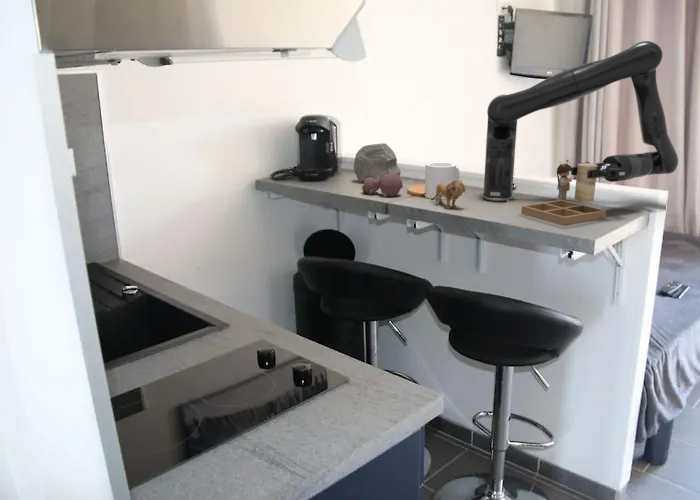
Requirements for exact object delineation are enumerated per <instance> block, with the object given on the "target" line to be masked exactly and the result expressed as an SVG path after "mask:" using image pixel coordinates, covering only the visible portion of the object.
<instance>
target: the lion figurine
mask: <svg viewBox="0 0 700 500" xmlns="http://www.w3.org/2000/svg"><path fill="white" fill-rule="evenodd" d="M467 190H468V187H467V186H466V185H465V184H464V182H463V180H462V179H460V180H456V181H453V182H452V183H449V184H448V186H446V185H445V184H444V183H440V184H438V185H437V188H436V195H435V197H434V198H432V199H431V198H430V200H431V201H434V200H435V202H434V203H435V205H436V206H437V205H440V203H443V199H441V198H442V196H444V197H445V198H446V199H445V200H446V209H447V210H450V209H451V208H454V209H455V208H457V204H455V203H456V201H457V200H458V199H459V197H461V196H462V195H463V193H466V191H467ZM440 192H441V194H440ZM439 194H440V195H439ZM438 197H439V199H438ZM435 198H436V199H435ZM450 203H451V204H450Z"/></svg>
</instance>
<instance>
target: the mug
mask: <svg viewBox="0 0 700 500" xmlns="http://www.w3.org/2000/svg"><path fill="white" fill-rule="evenodd" d="M424 166H425V167H424V168H425V169H424V197H425V198H427V199H430V200H431V199H432V198H434V197H435V195H436V188H437V185H438V184H440V183H444V184H445V185H446V186H448V184H449V183H452V182H453V181H456V180H461V178H460V177H461V175H460V174H461V173H460V170H459V168H458V167H457V164H456V163H453V162H445V161H444V162H443V161H436V162H435V161H432V162H428V163H427V162H426V163H425V165H424ZM425 193H426V194H425ZM440 194H441V192H440ZM440 194H439V195H440ZM438 199H439V197H438ZM434 200H436V198H435V199H434ZM441 200H447V199H446V198H445V197H444V196H442V198H441Z"/></svg>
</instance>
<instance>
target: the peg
mask: <svg viewBox="0 0 700 500" xmlns="http://www.w3.org/2000/svg"><path fill="white" fill-rule="evenodd" d="M577 164H578V168H577V175H576V179H575V190H574V199H573V200H574V201H577V202H582V203H591V202H594V200H595V194H596V193H595V192H596V183H597V178H591V179H590V178H587V174H588V171H589V170H595V169H597V165H595V164H581V163H577Z"/></svg>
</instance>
